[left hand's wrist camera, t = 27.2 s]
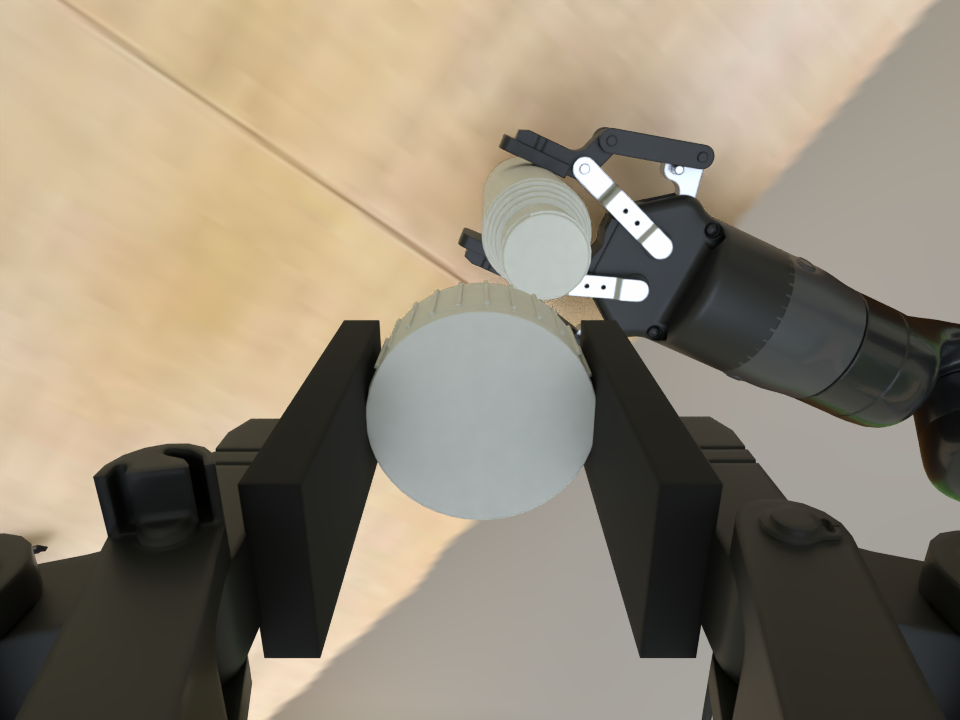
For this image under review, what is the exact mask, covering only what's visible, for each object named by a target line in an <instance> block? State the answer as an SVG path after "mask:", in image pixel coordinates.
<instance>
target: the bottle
mask: <svg viewBox="0 0 960 720" xmlns="http://www.w3.org/2000/svg"><path fill="white" fill-rule="evenodd" d="M591 235H592V227H591V220H590V216H589V213H588V210H587V208H586V206H585V204H584V203H583V201H582V200H581V198H580V197H579V196H578V195H577V194H576V193H575V192H574V191H573V190H572V189H571V188H570V187H569V186H568V185H567V184H566V183H564V182H563V181H562V180H561V179H560V178H559V177H558V176H557V175H555V174H554V173H552V172H550V171H548V170H546V169H544V168H541V167H539V166H537V165H535V164H533V163H531V162H529V161H527V160H524V159H522V158H520V157H514V158H510V159H507V160H505V161H503V162H502V163H500V164H499V165H498V166H496V167H495V168H494V169H493V171H492V172H491V173H490V175H489V176H488V178H487V180H486V183H485V187H484V194H483V215H482V243H483V248H484V251H485V254H486V257H487V259H488V261H489V262H490V264H491V265H492V267H493V268H494V269H495V270H496V272H498V273H499V274H500V275H501V276H502V277H503V278H504V279H506V280H507V281H508V283H509V284H511V285H513V288H516V289H518V290H521V291H524V292H526V293H528V294H530V295H532V293H533V294H535V295H536V297H537V299H539V300H551V299H555V298H559V297H562V296H564V295H566V294H568V293H570V292H572V291H573V290H574V289H575V288H576V287H577V286H578V285H579V284H580V283H581V282H582V280H583V279H584V277H585V276H586V274H587V272H588V269H589V266H590V263H591V246H590V244H591Z"/></svg>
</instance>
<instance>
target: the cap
mask: <svg viewBox="0 0 960 720" xmlns="http://www.w3.org/2000/svg"><path fill="white" fill-rule="evenodd" d="M374 368H375V369H376V371H375V373H374V376H373V378H372V381H371V383H370V386H369V392H368V397H367V403H366V422H367V434H368V438H369V442H370V446H371V448H372V450H373V453H374V455H375V458H376V460H377V461H378V463H379V465H380V466H381V468H382V470H383V471H384V472H385V474H386V475H387V476H388V478H389V479H390V480H391V481H392V482H393V483H394V484H395V485H396V486H397V487H398V488H399V489H400V490H401V491H402V492H403V493H405V494H406V495H407V496H409V497H410V498H411V499H413V500H414V501H416V502H418V503H419V504H421V505H423V506H424V507H427V508H429V509H431V510H433V511H436V512H438V513H442V514H445V515H448V516H452V517H457V518H462V519H472V520H493V519H500V518H507V517H511V516H515V515H518V514H522V513H524V512H527V511H529V510H532V509H534V508H536V507H538V506H540V505H542V504H544V503H546V502H547V501H549V500H550V499H552V498H553V497H554V496H556V495H557V494H558V493H560V492H561V491H562V490H563V489H564V488H565V487H566V486H568V484H569V483H570V482H571V481H572V480H573V479H574V478H575V476H576V475H577V474H578V472H579V471H580V469H581V468H582V466H583V465H584V463H585V461H586V459H587V457H588V455H589V453H590V451H591V448H592V443H593V430H594V415H595V400H596V396H595V392H594V388H593V385H592V382H591V380H590V377H592V373H591V371H590V369H589V366H588V364H587V362H586V359H585V357H584V355H583V352H582V350H581V348H580V345H579V346H578V344H577V341H576V339H575V337H574V334H573V332H572V329H571V327H570V326H569V325H568V326H566V325H565V323H564V322H563V321H562V320H561V319H560V317H559V316H558V315H557V312H556V309H555V308H554V307H552V308H550V307H548V306H547V305H546V304H544V303H543V302H542V301H540V300H539V299H537V297H536V295H535V294H533V293H532V295H530V294H528V293H526V292H524V291H521V290H518V289H516V288H513V285H511V284H509V286H504V285H500V284H492V283H488V281H484V283H470V284H464V285H463V282H461V283H459V284H458V286H454V287H451V288H447V289H444V290H442V291H439V290H435V292H434V294H433V295H431V296H429V297H427V298H426V299H424V300H423V301H421V302H419V303H417V302H415V303H414V305H413V308H412V309H411V310H410V311H409V312H408V313H407V314H406V315H405V316H404V317H403V318H402V319H400V318H399V319H398V320H397V322H396V324H395V327H394V329H393V332H392V334H391V336H390V338H389V339H388V338H386V340H385V342H384V345H383V347H382V349H381V352H380V354H379V357H378V359H377V361H376V364H375V366H374Z"/></svg>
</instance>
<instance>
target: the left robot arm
mask: <svg viewBox="0 0 960 720" xmlns="http://www.w3.org/2000/svg"><path fill="white" fill-rule="evenodd" d="M580 348H581V350H582V352H583V355H584V357H585V359H586V362H587V364H588V366H589V369H590V371H591V373H592V377H590V380H591V382H592V385H593V388H594V392H595V396H596V400H595V415H594V430H593V443H592V448H591V451H590V453H589V455H588V457H587V459H586V461H585V463H584V467H585V471H586V474H587V478H588V481H589V485H590V488H591V491H592V495H593V498H594V502H595V505H596V509H597V512H598V515H599V519H600V522H601V526H602V529H603V533H604V536H605V539H606V543H607V546H608V550H609V553H610V556H611V560H612V563H613V567H614V570H615V574H616V577H617V580H618V584H619V587H620V591H621V594H622V598H623V601H624V604H625V608H626V611H627V615H628V618H629V621H630V625H631V628H632V632H633V635H634V639H635V642H636V645H637V649H638V652H639V656H640V658H696V654H697V648H698V642H699V635H700V629H701V625H702V627H703V630H704V632H705V634H706V636H707V639H708V641H709V643H710V646H711V648H712V650H713V654H712V661H711V666H710V672H709V678H708V684H707V690H706V696H705V702H704V708H703V714H702V720H711V718H712V716H713V720H960V531H951V532H945V533H940V534H938V535H937V536H936V537H935V538H933V539H932V540H931V541H930V544H929V547H928V551H927V554H926V557H925V561H919V560H913V559H908V558H903V557H898V556H893V555H887V554H882V553H877V552H872V551H868V550H864V549H860V548H858V547H857V545H856V543H855V541H854V539H853V537H852V535H851V534H850V533H849V532H848V531H847V529H846V528H845V527H844V526H843V525H842V523H840V522H839V521H837V520H836V519H834V518H833V517H831V516H830V515H828V514H827V513H825V512H823V511H821V510H818V509H816V508H813V507H811V506H808V505H806V504H803V503H798V502H793V501H789V500H787V499H786V497H785V496H784V495H783V494H782V492H781V491H780V490H779V489H778V487H777V486H776V485H775V483H774V482H773V481H772V480H771V478H770V477H769V476H768V475H767V473H766V472H765V471H764V470H763V468H762V467H761V466H760V465H759V463H756V460H755V458H754V457H753V456H752V454H751V453H750V452H749V451H748V450H745V446H744V444H743V443H742V442H741V441H740V439H739V438H738V437H737V435H736V434H735V433H734V432H733V431H732V430H731V429H729V428H728V427H726V426H724V425H723V424H721V423H719V422H718V421H716V420H714V419H713V418H711V417H679V416H678V414H677V413H676V411H675V410H674V408H673V407H672V405H671V404H670V402H669V401H668V399H667V398H666V396H665V395H664V393H663V392H662V390H661V388H660V387H659V385H658V384H657V382H656V381H655V379H654V378H653V376H652V375H651V373H650V371H649V370H648V368H647V367H646V365H645V364H644V362H643V361H642V359H641V358H640V356H639V355H638V353H637V351H636V350H635V348H634V347H633V345H632V344H631V342H630V341H629V339H628V338H627V336H626V335H625V333H624V332H623V330H622V328H621V327H620V325H619V324H618V322H617V321H616V320H581V331H580ZM380 352H381V340H380V323H379V320H344V321H343V323H342V325H341V326H340V328H339V329H338V331H337V332H336V334H335V335H334V337H333V338H332V340H331V341H330V343H329V345H328V346H327V348H326V349H325V351H324V352H323V354H322V355H321V357H320V358H319V360H318V361H317V363H316V364H315V366H314V368H313V369H312V371H311V372H310V374H309V375H308V377H307V378H306V380H305V381H304V383H303V384H302V386H301V388H300V389H299V391H298V392H297V394H296V395H295V397H294V398H293V400H292V401H291V403H290V404H289V406H288V407H287V409H286V411H285V412H284V414H283V415H282V417H281V418H280V419H250V420H248V421H247V422H245V423H243V424H242V425H240V426H238V427H237V428H235V429H233V430H232V431H230V432H228V434H227V435H226V436H225V438H224V439H223V440H222V441H221V443H220V444H219V445H218V446H217V448H216V452H213V453H212V452H210V451H209V450H208V449H206V448H205V447H201V446H197V445H192V444H164V445H158V446H153V447H147V448H143V449H140V450H137V451H134V452H131V453H128V454H125V455H123V456H121V457H119V458H117V459H115V460H114V461H112V462H110V463H108V464H106V465H105V466H104V467H103V468H102V469H101V470H100V471H99V472H98V473H97V474H96V475H95V476H94V477H93V478H94V482H95V486H96V490H97V494H98V498H99V502H100V506H101V510H102V514H103V518H104V522H105V526H106V530H107V534H108V538H107V540H106V542H105V544H104V546H103V548H102V550H101V551H100V552H96V553H92V554H88V555H83V556H78V557H73V558H68V559H62V560H57V561H52V562H47V563H42V564H37V562H36V559H35V555H34V552H33V549H32V545H31V543H29V542H28V541H27V540H26V539H24V538H23V537H22V536H17V535H10V534H4V533H3V534H0V720H247V718H248V710H249V702H250V694H251V687H252V680H251V673H250V666H249V660H248V653H249V650H250V648H251V646H252V643H253V641H254V639H255V636H256V634H257V632H258V629H259V627H260V632H261V639H262V645H263V652H264V658H320V657H321V654H322V650H323V647H324V644H325V640H326V637H327V633H328V630H329V626H330V623H331V620H332V616H333V613H334V609H335V606H336V603H337V599H338V596H339V592H340V589H341V585H342V582H343V579H344V575H345V572H346V568H347V565H348V561H349V558H350V555H351V551H352V548H353V544H354V541H355V537H356V534H357V531H358V527H359V524H360V520H361V517H362V514H363V510H364V507H365V503H366V500H367V496H368V493H369V490H370V486H371V483H372V479H373V476H374V472H375V469H376V466H377V462H378V461H377V460H376V458H375V455H374V453H373V450H372V448H371V446H370V442H369V438H368V434H367V422H366V403H367V397H368V392H369V386H370V383H371V381H372V378H373V376H374V373H375V371H376V369H375V368H374V366H375V364H376V361H377V359H378V357H379V354H380Z"/></svg>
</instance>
